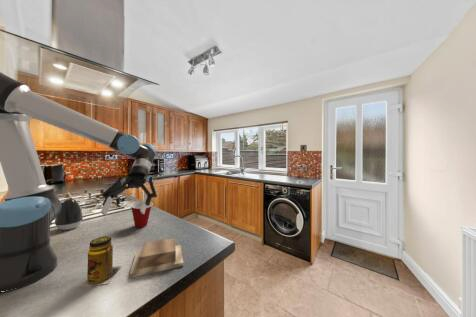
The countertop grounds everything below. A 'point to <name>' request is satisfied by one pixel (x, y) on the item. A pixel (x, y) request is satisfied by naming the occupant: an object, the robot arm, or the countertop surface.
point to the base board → (156, 268)
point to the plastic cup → (140, 214)
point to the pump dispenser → (69, 215)
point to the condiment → (100, 262)
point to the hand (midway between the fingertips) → (123, 213)
